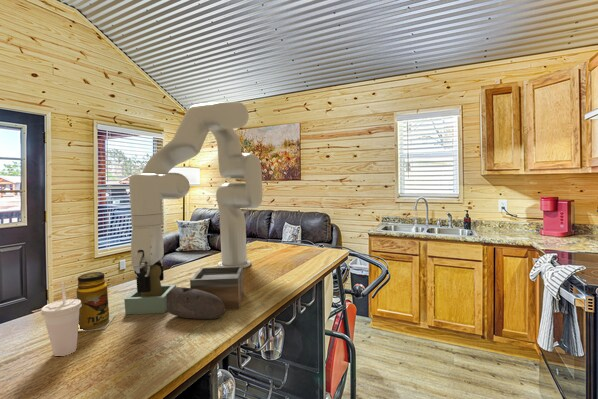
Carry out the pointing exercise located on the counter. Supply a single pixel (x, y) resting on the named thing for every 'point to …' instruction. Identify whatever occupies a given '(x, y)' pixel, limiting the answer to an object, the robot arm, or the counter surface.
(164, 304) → the shaker holder
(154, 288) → the tan rounded piece
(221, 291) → the gray open box
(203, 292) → the perforated stone tool
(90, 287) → the condiment
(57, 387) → the counter surface
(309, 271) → the counter surface
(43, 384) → the counter surface
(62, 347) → the smoothie
